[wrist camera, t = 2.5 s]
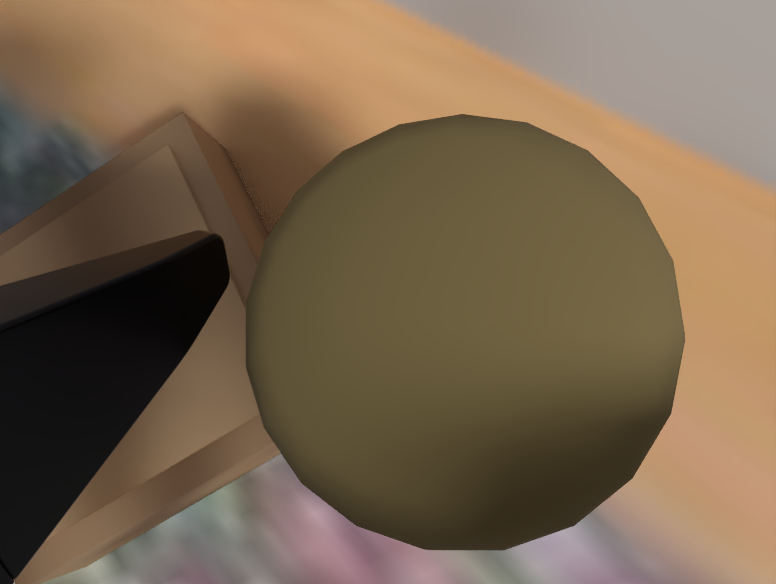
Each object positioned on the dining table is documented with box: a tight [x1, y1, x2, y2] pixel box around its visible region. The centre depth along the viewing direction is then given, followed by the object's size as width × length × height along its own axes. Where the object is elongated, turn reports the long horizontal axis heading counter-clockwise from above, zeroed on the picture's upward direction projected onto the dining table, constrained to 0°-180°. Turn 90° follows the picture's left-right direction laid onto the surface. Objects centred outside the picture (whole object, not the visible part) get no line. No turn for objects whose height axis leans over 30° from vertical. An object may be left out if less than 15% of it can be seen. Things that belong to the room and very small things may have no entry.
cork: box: [246, 114, 685, 550], centre depth 11 cm, size 6×6×11 cm
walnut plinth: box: [0, 112, 281, 584], centre depth 17 cm, size 10×10×3 cm
